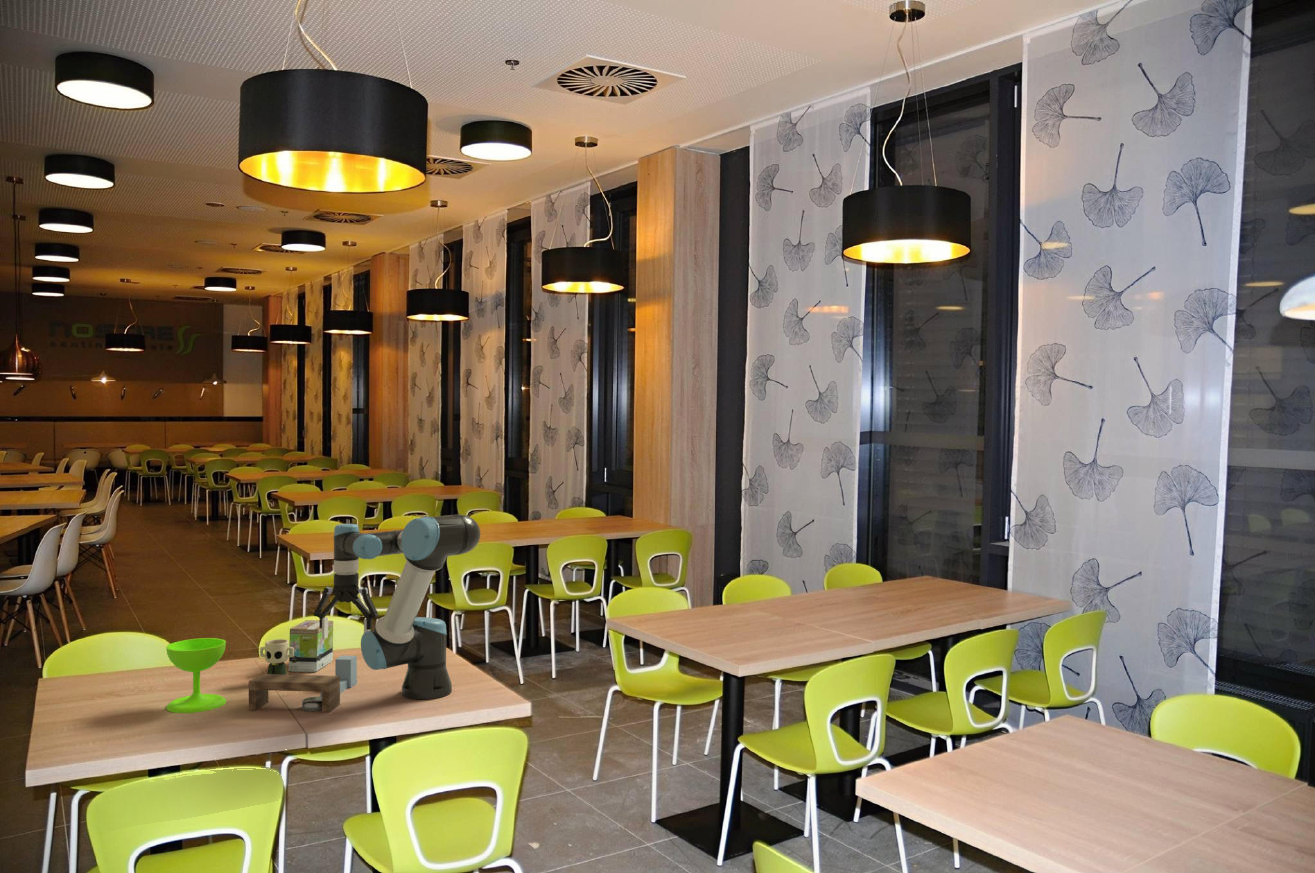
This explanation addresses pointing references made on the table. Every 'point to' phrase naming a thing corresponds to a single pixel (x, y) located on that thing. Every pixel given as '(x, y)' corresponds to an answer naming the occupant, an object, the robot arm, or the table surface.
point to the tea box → (310, 646)
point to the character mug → (277, 655)
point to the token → (312, 704)
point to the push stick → (346, 671)
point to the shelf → (295, 688)
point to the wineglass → (196, 671)
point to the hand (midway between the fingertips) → (345, 639)
